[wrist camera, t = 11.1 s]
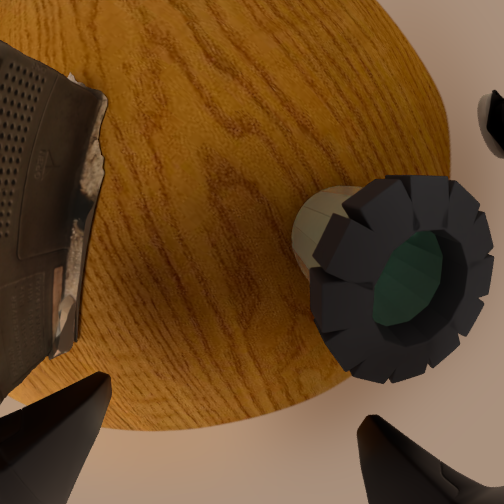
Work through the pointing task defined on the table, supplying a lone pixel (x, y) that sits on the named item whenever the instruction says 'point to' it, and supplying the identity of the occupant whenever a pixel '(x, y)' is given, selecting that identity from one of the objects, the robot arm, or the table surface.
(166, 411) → the table surface
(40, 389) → the table surface
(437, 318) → the ring
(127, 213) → the table surface
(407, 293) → the cup
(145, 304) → the table surface
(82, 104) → the radio
